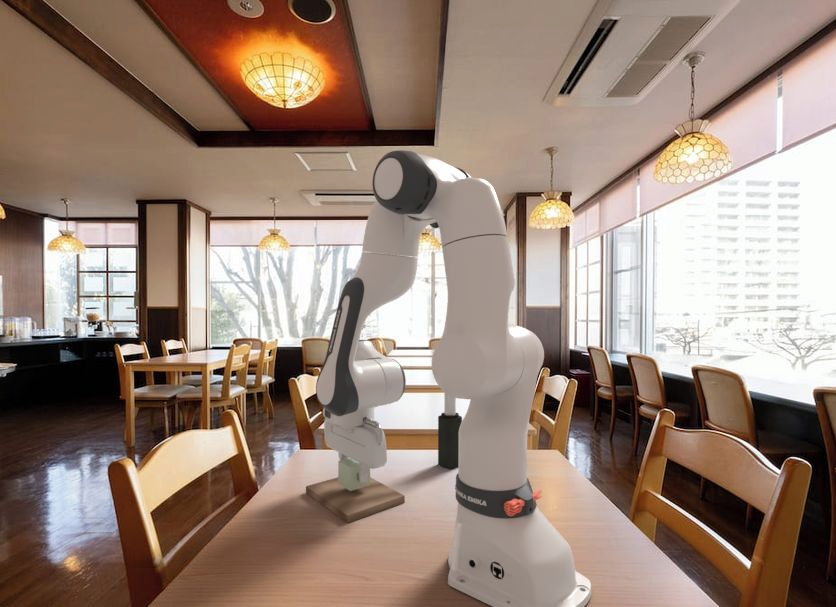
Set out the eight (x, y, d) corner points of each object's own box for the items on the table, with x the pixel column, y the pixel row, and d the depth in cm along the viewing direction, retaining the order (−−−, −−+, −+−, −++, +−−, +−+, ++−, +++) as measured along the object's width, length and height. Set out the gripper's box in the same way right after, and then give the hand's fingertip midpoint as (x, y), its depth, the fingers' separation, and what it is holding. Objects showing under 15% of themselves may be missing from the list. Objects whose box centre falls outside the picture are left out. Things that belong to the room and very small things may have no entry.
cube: (370, 485, 99) (370, 462, 99) (350, 491, 96) (350, 467, 96) (357, 478, 103) (357, 456, 103) (338, 483, 100) (338, 461, 100)
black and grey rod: (450, 460, 123) (450, 367, 123) (463, 465, 119) (463, 370, 119) (436, 464, 120) (436, 369, 120) (449, 470, 116) (449, 372, 116)
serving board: (404, 502, 97) (404, 495, 97) (347, 523, 88) (347, 515, 88) (359, 477, 111) (359, 471, 111) (305, 492, 102) (305, 486, 102)
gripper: (394, 420, 93) (394, 488, 93) (343, 403, 109) (343, 461, 109) (368, 426, 89) (368, 496, 89) (319, 407, 105) (319, 467, 105)
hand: (354, 476), depth 99 cm, fingers closed on cube, 5 cm apart
